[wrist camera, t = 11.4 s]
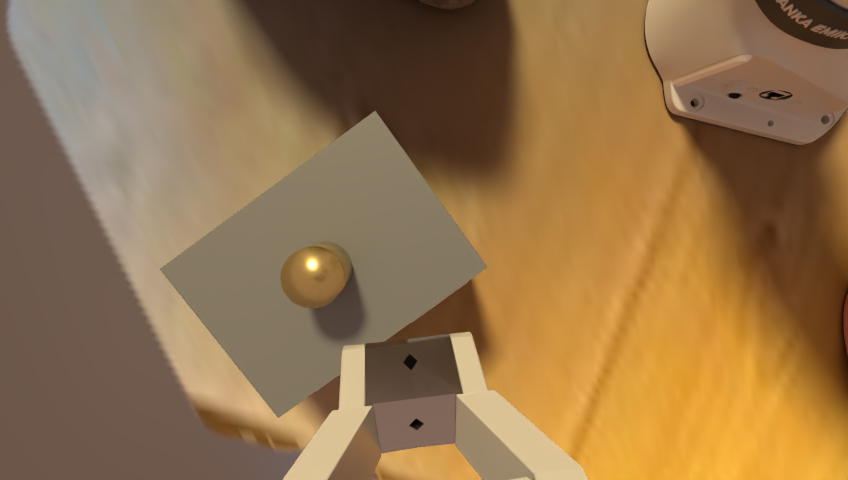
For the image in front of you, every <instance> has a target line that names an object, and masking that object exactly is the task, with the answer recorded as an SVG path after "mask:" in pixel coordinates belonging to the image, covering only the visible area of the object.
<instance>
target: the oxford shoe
mask: <svg viewBox="0 0 848 480" xmlns="http://www.w3.org/2000/svg"><path fill="white" fill-rule="evenodd" d="M843 326H844V338H845V344H846V350H847V355H848V293H847V296H846V301H845V305H844V314H843Z"/></svg>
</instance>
